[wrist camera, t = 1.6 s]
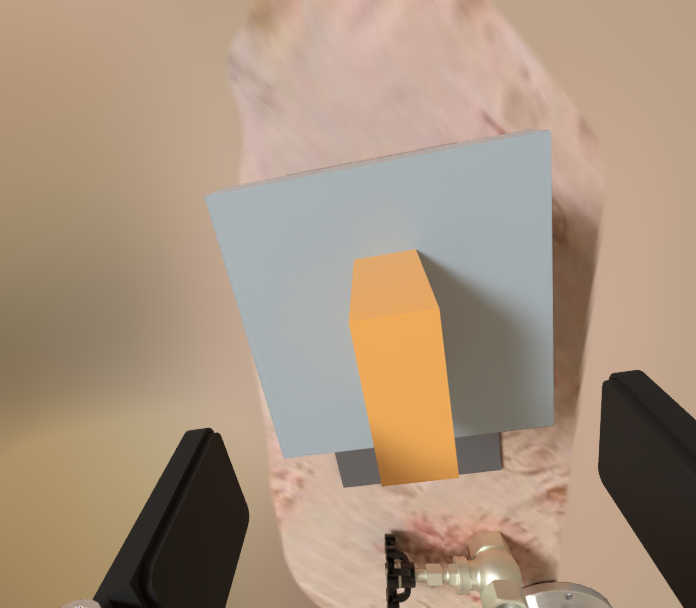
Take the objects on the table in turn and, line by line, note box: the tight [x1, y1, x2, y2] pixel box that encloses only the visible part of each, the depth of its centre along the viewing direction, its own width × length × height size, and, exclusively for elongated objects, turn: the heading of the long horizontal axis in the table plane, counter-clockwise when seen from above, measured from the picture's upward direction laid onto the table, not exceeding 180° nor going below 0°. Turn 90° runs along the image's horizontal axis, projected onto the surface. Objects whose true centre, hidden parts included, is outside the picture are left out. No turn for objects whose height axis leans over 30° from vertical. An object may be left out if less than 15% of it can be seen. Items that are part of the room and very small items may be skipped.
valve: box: [385, 531, 529, 608], centre depth 39 cm, size 7×7×12 cm
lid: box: [204, 129, 554, 486], centre depth 17 cm, size 13×13×8 cm
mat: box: [335, 432, 501, 488], centre depth 36 cm, size 14×14×1 cm
